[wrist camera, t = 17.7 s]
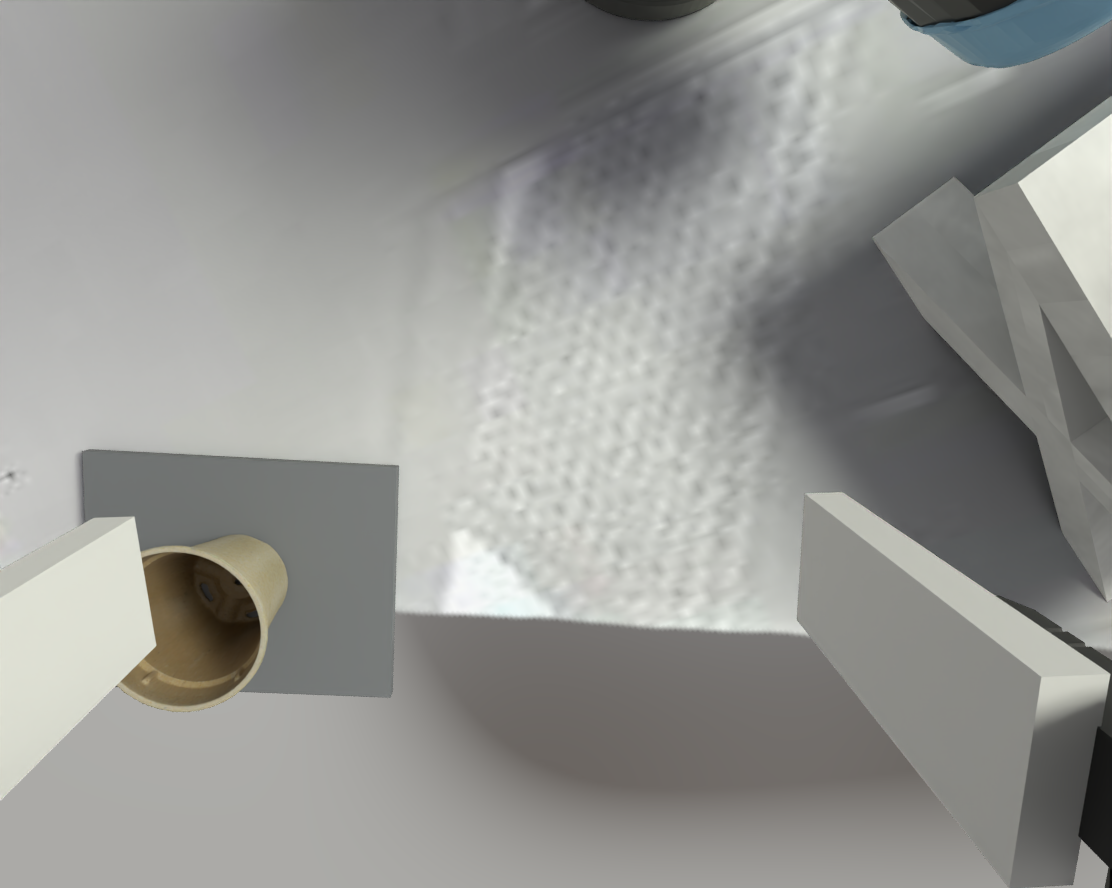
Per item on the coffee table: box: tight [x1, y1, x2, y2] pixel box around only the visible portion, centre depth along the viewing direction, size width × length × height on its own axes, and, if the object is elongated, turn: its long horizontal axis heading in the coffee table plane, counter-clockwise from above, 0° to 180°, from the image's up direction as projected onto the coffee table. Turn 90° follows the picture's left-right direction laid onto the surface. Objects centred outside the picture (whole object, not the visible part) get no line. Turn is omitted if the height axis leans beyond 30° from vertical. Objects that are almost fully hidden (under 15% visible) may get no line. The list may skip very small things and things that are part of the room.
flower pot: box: [117, 534, 288, 712], centre depth 42 cm, size 9×9×9 cm
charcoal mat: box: [82, 449, 399, 698], centre depth 47 cm, size 20×16×1 cm
